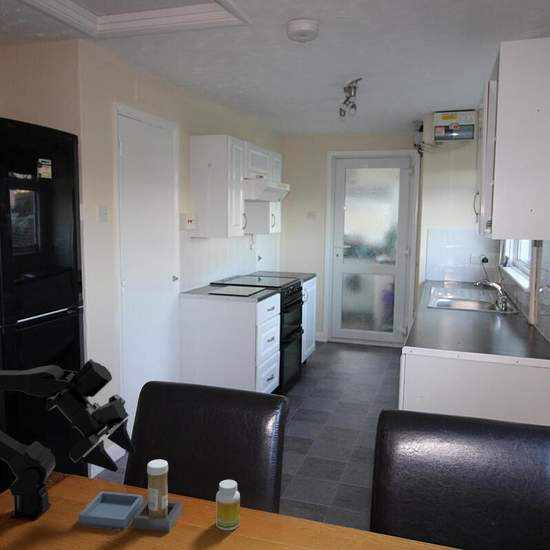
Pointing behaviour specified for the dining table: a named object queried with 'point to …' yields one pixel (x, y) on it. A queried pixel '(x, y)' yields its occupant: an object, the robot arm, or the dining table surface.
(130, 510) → the tray
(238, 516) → the supplement bottle
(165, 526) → the bottle holder
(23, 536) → the dining table surface
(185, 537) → the dining table surface
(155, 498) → the sprinkles bottle
